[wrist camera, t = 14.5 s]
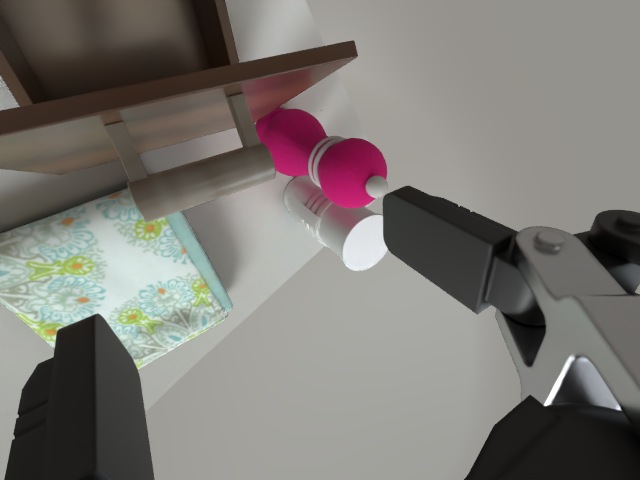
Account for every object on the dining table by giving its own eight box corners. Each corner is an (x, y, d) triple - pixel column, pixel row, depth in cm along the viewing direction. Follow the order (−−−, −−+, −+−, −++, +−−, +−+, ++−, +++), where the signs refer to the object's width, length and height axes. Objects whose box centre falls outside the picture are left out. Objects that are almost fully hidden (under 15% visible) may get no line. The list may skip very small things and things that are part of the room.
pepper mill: (239, 117, 37) (336, 169, 23) (294, 93, 39) (415, 127, 25) (261, 173, 42) (354, 247, 27) (309, 149, 44) (420, 206, 29)
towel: (98, 369, 43) (99, 401, 39) (-40, 240, 30) (-58, 270, 26) (229, 299, 48) (241, 321, 45) (162, 166, 36) (170, 181, 32)
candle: (284, 168, 43) (351, 214, 32) (328, 172, 47) (401, 214, 36) (276, 217, 46) (334, 274, 35) (318, 217, 50) (382, 268, 39)
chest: (-85, -114, 21) (-151, -170, 15) (168, -113, 26) (189, -154, 21) (64, 144, 30) (58, 169, 25) (226, 104, 36) (252, 117, 30)
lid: (-120, 133, 9) (-18, 286, 10) (355, 39, 14) (379, 146, 16) (55, 166, 24) (86, 225, 26) (252, 114, 30) (269, 165, 31)
